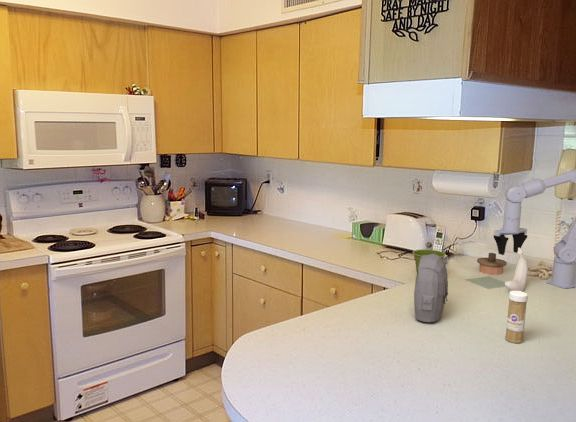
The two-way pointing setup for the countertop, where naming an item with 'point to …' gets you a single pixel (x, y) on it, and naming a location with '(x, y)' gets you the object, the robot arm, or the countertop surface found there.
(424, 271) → the soft grey pack
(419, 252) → the plant pot
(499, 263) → the lid
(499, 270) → the bowl
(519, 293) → the sprinkles bottle
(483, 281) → the mat
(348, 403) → the countertop surface
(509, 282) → the white curved piece
